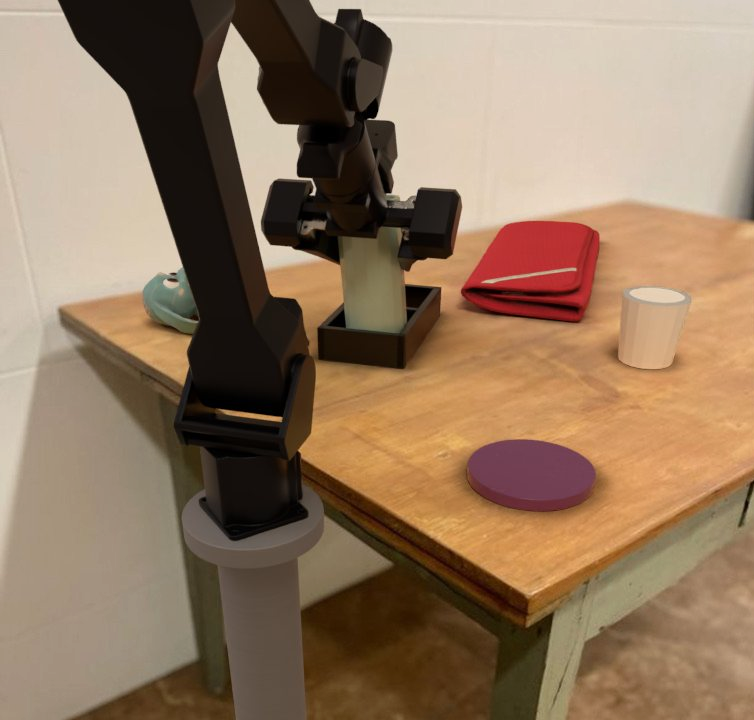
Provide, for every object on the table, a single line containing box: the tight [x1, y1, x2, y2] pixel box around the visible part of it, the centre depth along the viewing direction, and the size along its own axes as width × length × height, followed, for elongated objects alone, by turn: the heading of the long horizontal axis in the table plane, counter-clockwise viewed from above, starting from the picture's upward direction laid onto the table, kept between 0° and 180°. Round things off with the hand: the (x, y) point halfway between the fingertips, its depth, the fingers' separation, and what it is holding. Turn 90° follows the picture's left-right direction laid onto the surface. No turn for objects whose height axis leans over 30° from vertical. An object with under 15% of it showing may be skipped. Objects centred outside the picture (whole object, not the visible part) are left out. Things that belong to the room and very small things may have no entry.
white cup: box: [617, 285, 693, 370], centre depth 85 cm, size 7×7×7 cm
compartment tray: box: [316, 283, 442, 370], centre depth 91 cm, size 18×9×4 cm, turn 164°
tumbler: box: [338, 194, 407, 333], centre depth 84 cm, size 6×6×14 cm
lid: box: [466, 438, 597, 512], centre depth 64 cm, size 10×10×1 cm
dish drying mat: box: [460, 220, 601, 322], centre depth 114 cm, size 16×41×4 cm, turn 165°
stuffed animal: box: [141, 266, 199, 335], centre depth 94 cm, size 11×7×12 cm
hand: (376, 264), depth 85 cm, fingers closed on tumbler, 7 cm apart
